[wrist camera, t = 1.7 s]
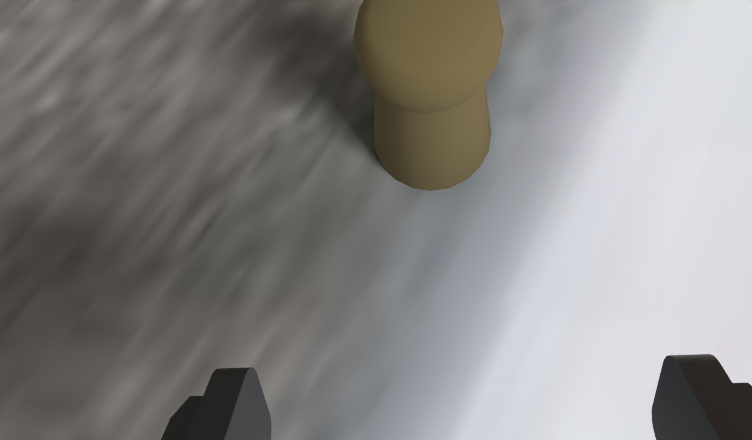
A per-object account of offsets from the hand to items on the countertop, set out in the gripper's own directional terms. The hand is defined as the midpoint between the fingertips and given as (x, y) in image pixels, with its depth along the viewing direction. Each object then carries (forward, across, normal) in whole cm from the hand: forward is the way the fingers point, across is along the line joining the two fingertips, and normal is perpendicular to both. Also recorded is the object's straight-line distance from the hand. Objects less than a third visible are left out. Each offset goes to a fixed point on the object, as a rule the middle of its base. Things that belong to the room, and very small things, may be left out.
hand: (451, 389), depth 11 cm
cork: (+19, 0, +3) cm, 19 cm away
